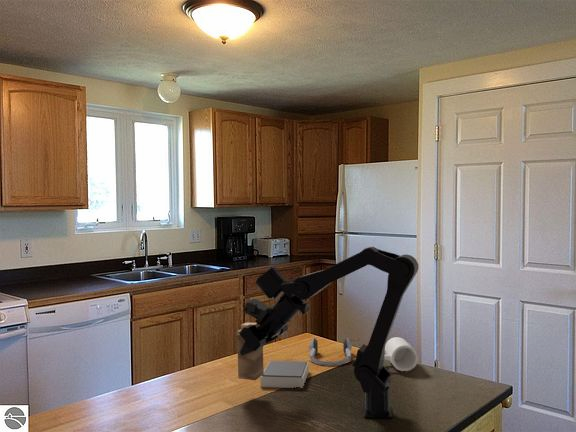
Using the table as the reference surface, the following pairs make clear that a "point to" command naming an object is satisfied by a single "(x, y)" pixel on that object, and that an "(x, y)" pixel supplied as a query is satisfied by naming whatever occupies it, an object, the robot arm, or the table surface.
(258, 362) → the tan tall cylinder
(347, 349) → the headphones
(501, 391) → the table surface
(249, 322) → the cargo
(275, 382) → the dock
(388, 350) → the mug
